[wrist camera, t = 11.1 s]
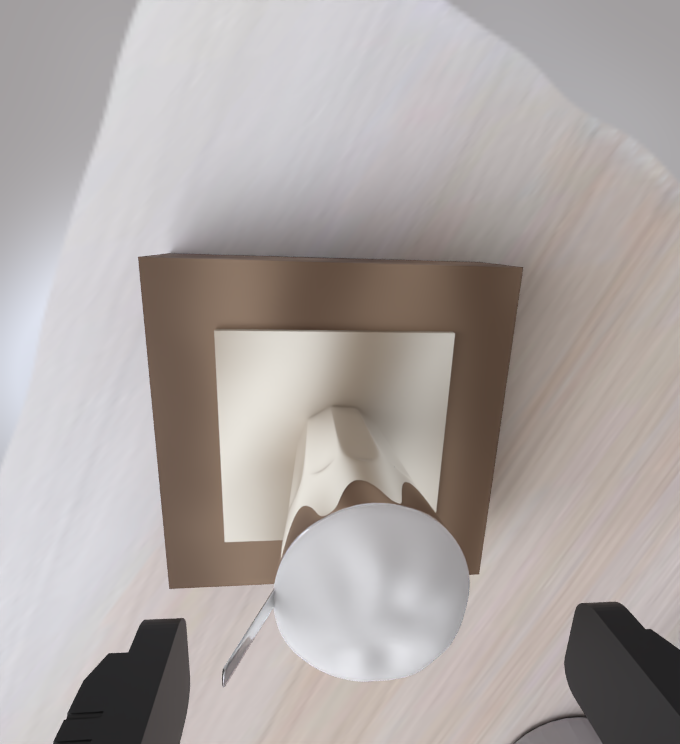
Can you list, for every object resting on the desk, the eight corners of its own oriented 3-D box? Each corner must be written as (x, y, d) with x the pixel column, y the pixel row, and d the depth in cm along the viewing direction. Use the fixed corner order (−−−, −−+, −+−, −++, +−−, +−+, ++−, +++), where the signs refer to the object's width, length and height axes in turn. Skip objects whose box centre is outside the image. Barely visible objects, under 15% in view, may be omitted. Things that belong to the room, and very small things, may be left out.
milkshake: (263, 383, 17) (225, 572, 7) (401, 392, 18) (530, 575, 8) (258, 490, 18) (219, 769, 9) (387, 494, 19) (483, 757, 9)
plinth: (480, 262, 21) (526, 267, 17) (450, 522, 25) (481, 578, 21) (169, 253, 19) (135, 257, 15) (189, 531, 23) (167, 593, 19)
